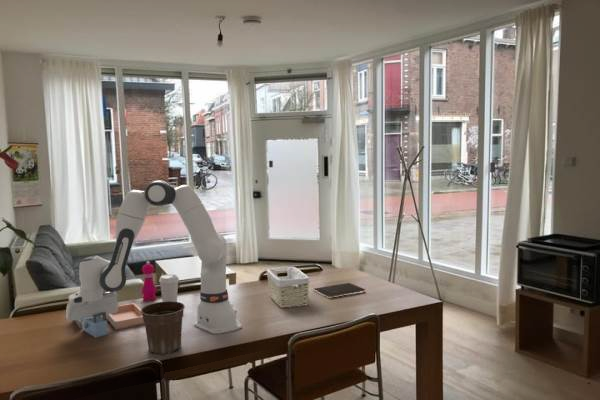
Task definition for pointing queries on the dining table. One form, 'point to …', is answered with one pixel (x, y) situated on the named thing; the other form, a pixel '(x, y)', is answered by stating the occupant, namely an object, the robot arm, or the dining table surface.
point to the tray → (126, 316)
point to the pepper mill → (148, 282)
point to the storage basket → (288, 286)
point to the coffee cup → (169, 287)
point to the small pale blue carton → (96, 325)
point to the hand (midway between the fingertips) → (93, 326)
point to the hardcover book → (339, 289)
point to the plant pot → (163, 326)
